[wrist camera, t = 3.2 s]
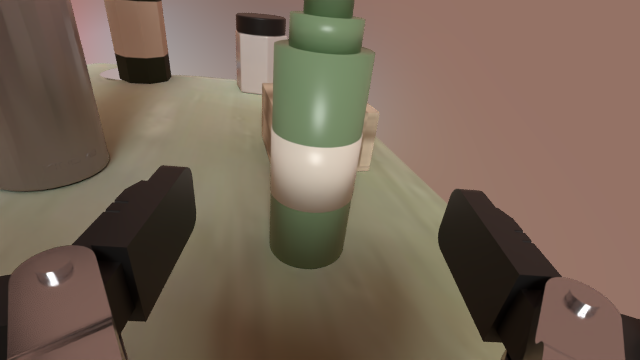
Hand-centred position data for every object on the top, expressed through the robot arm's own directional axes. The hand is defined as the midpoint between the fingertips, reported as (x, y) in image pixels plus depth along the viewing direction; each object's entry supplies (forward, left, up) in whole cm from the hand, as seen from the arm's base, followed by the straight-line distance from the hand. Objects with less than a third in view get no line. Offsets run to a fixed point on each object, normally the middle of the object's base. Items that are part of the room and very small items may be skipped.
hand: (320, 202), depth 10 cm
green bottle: (-5, +10, -11) cm, 16 cm away
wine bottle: (-52, +31, -11) cm, 62 cm away
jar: (-34, +41, -11) cm, 54 cm away
